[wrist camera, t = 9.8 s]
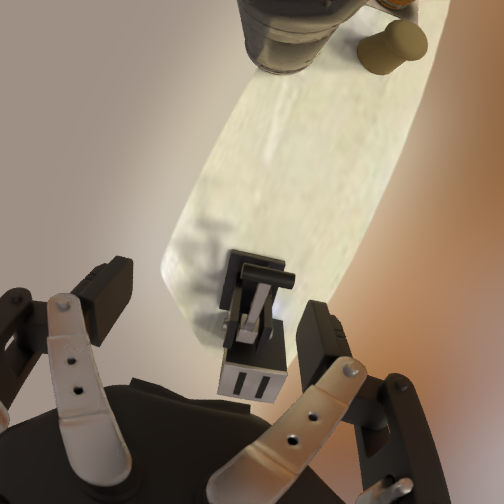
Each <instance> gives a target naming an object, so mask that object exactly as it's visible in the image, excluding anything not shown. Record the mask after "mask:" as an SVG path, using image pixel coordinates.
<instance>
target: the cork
mask: <svg viewBox="0 0 504 504" xmlns="http://www.w3.org/2000/svg"><path fill="white" fill-rule="evenodd" d="M427 47H428V42H427V38H426V36H425V34H424V32H423V31H422V30H421V28H420V27H418V26H417V25H416V24H414V23H412V22H410V21H408V20H403V19H401V20H394V21H393V22H391V23H389V24H388V25H387V27H386V28H385V31H383V32H380V33H378V34H375V35H372V36H370V37H367V38H365V39H363V40H362V41H361V42H360V43H359V45H358V49H357V54H358V58H359V60H360V62H361V64H362V65H363V66H364V67H365V68H366V69H367V70H368V71H370V72H371V73H374V74H376V75H386V74H389V73H390V72H392V71H393V70H394V69H396V68H397V67H398V66H400V65H401V64H402V63H403V62H405V61H406V60H407V61H414V60H418V59H420V58H422V57H423V56H424V55H425V53H426V52H427Z"/></svg>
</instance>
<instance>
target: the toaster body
mask: <svg viewBox="0 0 504 504" xmlns="http://www.w3.org/2000/svg"><path fill="white" fill-rule="evenodd" d="M241 315H242V314H241V313H239V318H238V324H237V328H236V332H235V336H234V339H233V343H232V347H231V349H228V348H224V355H223V361H222V367H221V374H220V380H219V387H218V391H217V394H218V395H223V396H228V397H234V398H240V399H246V400H253V401H259V402H266V403H274V402H275V400H276V398H277V396H278V394H279V392H280V390H281V388H282V386H283V384H284V382H285V380H286V378H287V376H288V373H287V365H286V352H285V341H284V329H283V321H281V320H275V319H272V323H273V335H272V338H271V339H269V341H268V343H267V346H266V349H265V352H264V354H263V355H259V354H255V350H256V339H255V341H254V343H253V344H249V343H244V342H239V341H236V336H237V330H238V325H239V321H240V318H241Z"/></svg>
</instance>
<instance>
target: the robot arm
mask: <svg viewBox="0 0 504 504" xmlns="http://www.w3.org/2000/svg"><path fill="white" fill-rule="evenodd" d="M368 1H369V0H237V3H238V8H239V12H240V17H241V22H242V27H243V31H244V36H245V47H246V51H247V53H248V55H249V57H250V59H251V60H252V61H253V62H254V63H255V64H256V65H257V66H258V67H259V68H261V69H263V70H265V71H267V72H269V73H273V74H278V75H289V74H294V73H297V72H300V71H302V70H304V69H305V68H307V67H308V66H309V65H310V64H311V63H312V61H313V60H314V59H315V58H316V57H317V56H318V55H319V54H320V53H321V52H320V53H319V54H318V52H319V51H320V50H321V48H322V47H323V46H324V44H325V43H326V42H327V41H328V39H329V38H330V37H331V35H332V34H333V33H334V32H335V30H336V29H337V28H338V26H339V25H340V24H341V23H343V22H345V21H347V20H348V19H350V18H351V17H352V16H353V15H354V14H355V13H356V12H357V11H358V10H359V9H360V8H361V7H362V6H364V5H365V4H366V3H367V2H368ZM317 54H318V55H317ZM316 55H317V56H316ZM132 290H133V260H132V259H129V258H125V257H122V256H115V257H114V259H113V260H112V261H110V263H108V264H106V263H104V264H101V265H100V266H97V267H95V268H94V269H93V270H92V271H91V272H90V274H88V275H87V276H86V277H85V279H83V280H82V281H81V282H80V283H79V284H78V285H77V286H76V287H75V288H74V289H73V290H72V291H71V292H70V293H60V294H56V295H54V296H52V297H51V298H50V299H49V300H48V302H41V301H32V296H31V293H30V291H29V290H27V289H25V288H13V289H11V290H8V291H7V292H6V293H5V294H4V295H3V296H2V297H1V298H0V504H346V503H345V502H344V501H342V500H341V499H340V498H339V497H338V496H337V495H336V494H335V493H334V492H333V491H332V490H331V489H330V488H329V487H328V486H327V484H325V482H324V481H323V480H322V479H321V478H320V477H319V476H318V475H317V474H316V473H315V472H314V471H313V470H312V469H311V468H310V467H309V466H308V464H309V462H310V461H311V460H312V459H313V458H314V456H315V455H316V454H317V452H318V451H319V449H321V447H322V446H323V445H324V443H325V442H326V440H327V439H328V438H329V436H330V435H331V434H332V432H333V431H334V429H335V428H336V426H337V425H338V424H339V422H340V421H344V422H347V423H351V424H354V428H355V435H356V441H357V448H358V455H359V462H360V469H361V477H362V485H363V492H362V493H361V494H360V495H359V496H358V497H357V499H356V501H355V504H451V501H450V496H449V492H448V488H447V484H446V481H445V477H444V473H443V470H442V466H441V463H440V460H439V456H438V453H437V450H436V447H435V443H434V440H433V438H432V434H431V431H430V428H429V425H428V423H427V420H426V417H425V414H424V412H423V409H422V406H421V404H420V401H419V398H418V395H417V393H416V390H415V388H414V385H413V384H412V382H411V381H410V380H409V379H408V378H407V377H405V376H404V375H401V374H398V373H391V374H389V375H388V376H387V377H386V379H385V380H381V379H378V378H375V377H372V376H369V375H367V370H366V368H365V366H364V365H363V364H362V363H361V362H360V361H358V360H356V359H354V358H353V357H352V354H351V351H350V348H349V345H348V342H347V339H346V336H345V333H344V332H343V327H342V325H341V322H340V321H339V320H338V319H337V318H336V317H335V316H334V315H330V313H329V310H328V307H327V304H326V303H324V302H319V301H314V300H309V301H308V303H307V305H306V308H305V310H304V313H303V315H302V318H301V320H300V323H299V325H298V328H297V332H296V344H297V352H298V359H299V367H300V375H301V383H302V392H303V394H302V395H301V396H300V398H299V399H298V400H297V401H296V402H295V403H294V404H293V405H292V406H291V407H290V408H289V409H288V410H287V411H286V412H285V413H284V414H283V415H282V416H281V417H280V418H279V419H278V420H277V421H276V422H275V423H274V424H273V425H270V424H269V423H268V422H267V421H265V420H263V419H262V418H260V417H258V416H256V415H254V414H251V413H250V405H249V404H243V403H237V402H231V401H226V400H193V399H187V398H185V397H183V396H181V395H179V394H177V393H174V392H172V391H170V390H168V389H166V388H164V387H162V386H160V385H157V384H153V383H150V382H146V381H143V380H140V379H136V378H132V380H131V382H130V385H112V386H108V387H103V386H102V382H101V379H100V376H99V373H98V369H97V366H96V362H95V359H94V356H93V352H92V348H91V344H92V345H94V346H97V347H100V346H101V344H102V342H103V341H104V339H105V337H106V336H107V334H108V333H109V331H110V330H111V328H112V327H113V325H114V323H115V322H116V321H117V319H118V317H119V316H120V314H121V313H122V311H123V310H124V308H125V307H126V305H127V304H128V303H129V300H130V298H131V295H132ZM12 335H13V337H14V340H13V341H12V343H11V344H10V345H9V346H8V348H7V349H6V350H5V346H6V343H7V342H8V341H9V339H10V338H11V337H12ZM42 353H44V354H48V356H49V364H50V370H51V378H52V384H53V390H54V396H55V400H56V406H57V408H55V409H53V410H50V411H48V412H46V413H43V414H41V415H39V416H36V417H34V418H31V419H29V420H26V421H24V422H21V423H19V424H16V425H14V426H11V427H9V428H8V425H9V421H10V417H9V413H8V410H9V408H10V406H11V404H12V402H13V400H14V399H15V397H16V395H17V394H18V392H19V390H20V388H21V387H22V385H23V383H24V382H25V380H26V378H27V377H28V375H29V374H30V372H31V370H32V369H33V367H34V366H35V364H36V363H37V361H38V359H39V358H40V356H41V355H42ZM387 424H388V425H387ZM388 426H389V429H388ZM389 430H390V433H389Z"/></svg>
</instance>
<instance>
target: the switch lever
mask: <svg viewBox="0 0 504 504" xmlns="http://www.w3.org/2000/svg"><path fill="white" fill-rule="evenodd" d="M240 278H241V279H244V280H248V281H253V282H258V283H259V284H258V286H257V289H256V292H255V295H254V298H253V301H252V304H251V306H250V309H249V312H248V315H247V314H242V315H241V318H240V321H239V325H238V330H237V336H236V341H239V342H244V343H249V344H253V343H254V341H255V339H256V337H257V335H258V330H259V321H260V317H259V314H260V312H261V310H262V307H263V305H264V302H265V300H266V297H267V295H268V292H269V290H270V288H271V285H272V286H276V287H281V288H286V289H292V288H293V286H294V283H295V274H294V273H289V272H284V271H280V270H275V269H271V268H266V267H262V266H257V265H253V264H248V263H244V264H243V267H242V272H241V277H240Z"/></svg>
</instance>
